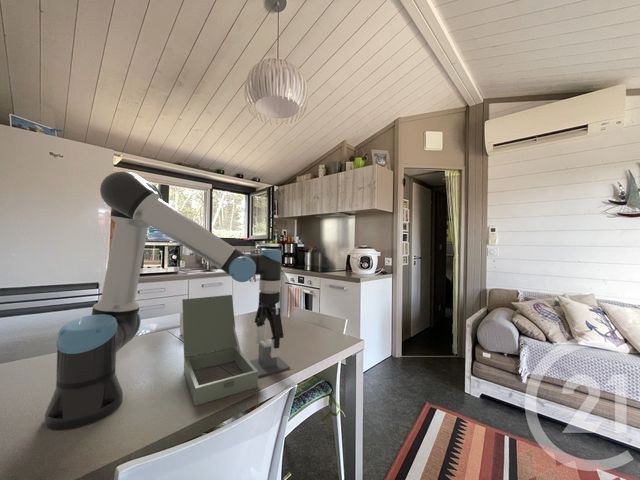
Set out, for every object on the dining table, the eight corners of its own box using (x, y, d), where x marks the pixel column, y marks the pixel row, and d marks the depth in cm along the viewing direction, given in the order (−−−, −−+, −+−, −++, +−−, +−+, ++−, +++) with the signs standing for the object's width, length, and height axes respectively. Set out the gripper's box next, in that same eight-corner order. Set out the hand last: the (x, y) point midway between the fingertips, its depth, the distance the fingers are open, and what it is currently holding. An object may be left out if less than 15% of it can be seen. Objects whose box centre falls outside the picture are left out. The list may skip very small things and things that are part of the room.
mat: (258, 377, 87) (258, 375, 87) (245, 363, 97) (246, 361, 97) (290, 368, 94) (290, 366, 94) (275, 355, 104) (275, 354, 104)
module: (264, 369, 92) (264, 346, 92) (258, 362, 96) (258, 341, 96) (277, 365, 95) (277, 343, 95) (270, 359, 99) (271, 338, 99)
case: (195, 407, 71) (197, 322, 71) (180, 361, 97) (182, 299, 97) (258, 387, 82) (260, 313, 82) (229, 350, 107) (231, 294, 107)
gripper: (295, 297, 88) (292, 360, 87) (265, 285, 108) (263, 336, 108) (274, 299, 83) (271, 366, 83) (248, 286, 104) (245, 339, 104)
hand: (266, 349), depth 95 cm, fingers open, 13 cm apart
